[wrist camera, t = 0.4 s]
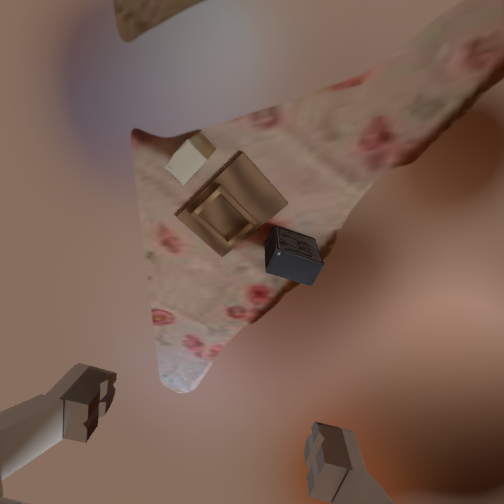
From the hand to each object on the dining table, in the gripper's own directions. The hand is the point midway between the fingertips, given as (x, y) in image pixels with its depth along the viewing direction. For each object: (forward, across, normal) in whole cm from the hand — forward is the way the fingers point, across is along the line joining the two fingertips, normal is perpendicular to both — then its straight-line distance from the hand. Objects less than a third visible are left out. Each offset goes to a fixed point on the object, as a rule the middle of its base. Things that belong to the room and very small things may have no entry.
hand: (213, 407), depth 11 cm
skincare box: (+47, +14, -9) cm, 50 cm away
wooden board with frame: (+50, +6, +1) cm, 50 cm away
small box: (+53, -8, +6) cm, 54 cm away
